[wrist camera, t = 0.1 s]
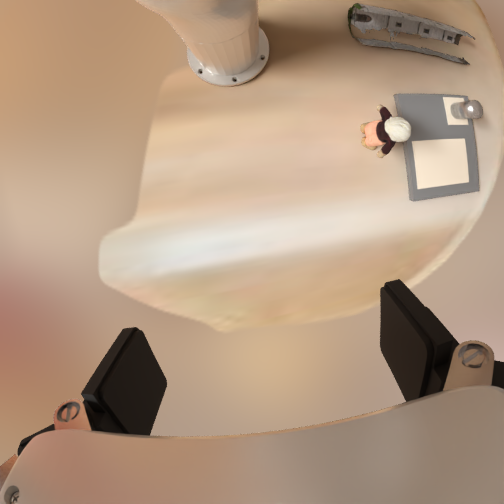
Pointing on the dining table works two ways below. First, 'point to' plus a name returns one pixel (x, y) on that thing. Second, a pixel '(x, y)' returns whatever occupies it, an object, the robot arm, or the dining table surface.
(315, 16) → the dining table surface
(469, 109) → the pin
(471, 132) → the board
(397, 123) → the grandmother figurine
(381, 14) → the model building
